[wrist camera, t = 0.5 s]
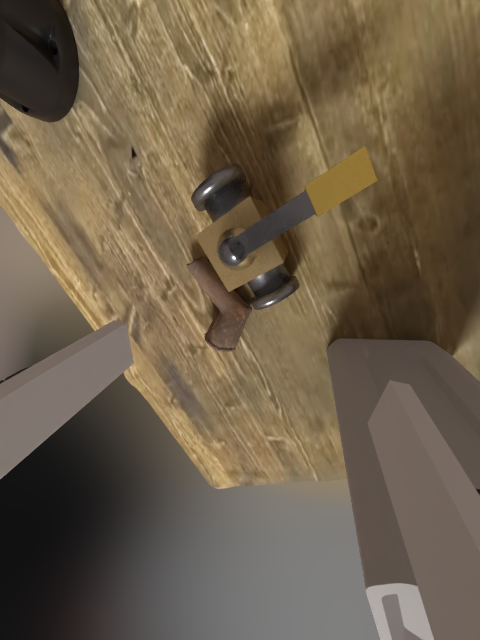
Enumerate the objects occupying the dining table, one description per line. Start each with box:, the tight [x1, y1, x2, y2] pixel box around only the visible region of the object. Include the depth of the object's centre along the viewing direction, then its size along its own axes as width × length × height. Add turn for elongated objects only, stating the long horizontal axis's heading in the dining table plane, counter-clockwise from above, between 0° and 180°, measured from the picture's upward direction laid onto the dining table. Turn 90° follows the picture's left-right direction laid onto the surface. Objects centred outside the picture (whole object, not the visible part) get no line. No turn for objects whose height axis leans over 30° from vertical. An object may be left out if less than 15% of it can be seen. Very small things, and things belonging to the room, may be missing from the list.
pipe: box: [187, 258, 252, 352], centre depth 38 cm, size 6×17×10 cm
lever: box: [219, 146, 377, 266], centre depth 21 cm, size 16×3×2 cm, turn 123°
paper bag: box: [327, 338, 480, 640], centre depth 25 cm, size 19×15×28 cm
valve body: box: [191, 164, 300, 310], centre depth 29 cm, size 17×8×10 cm, turn 33°
